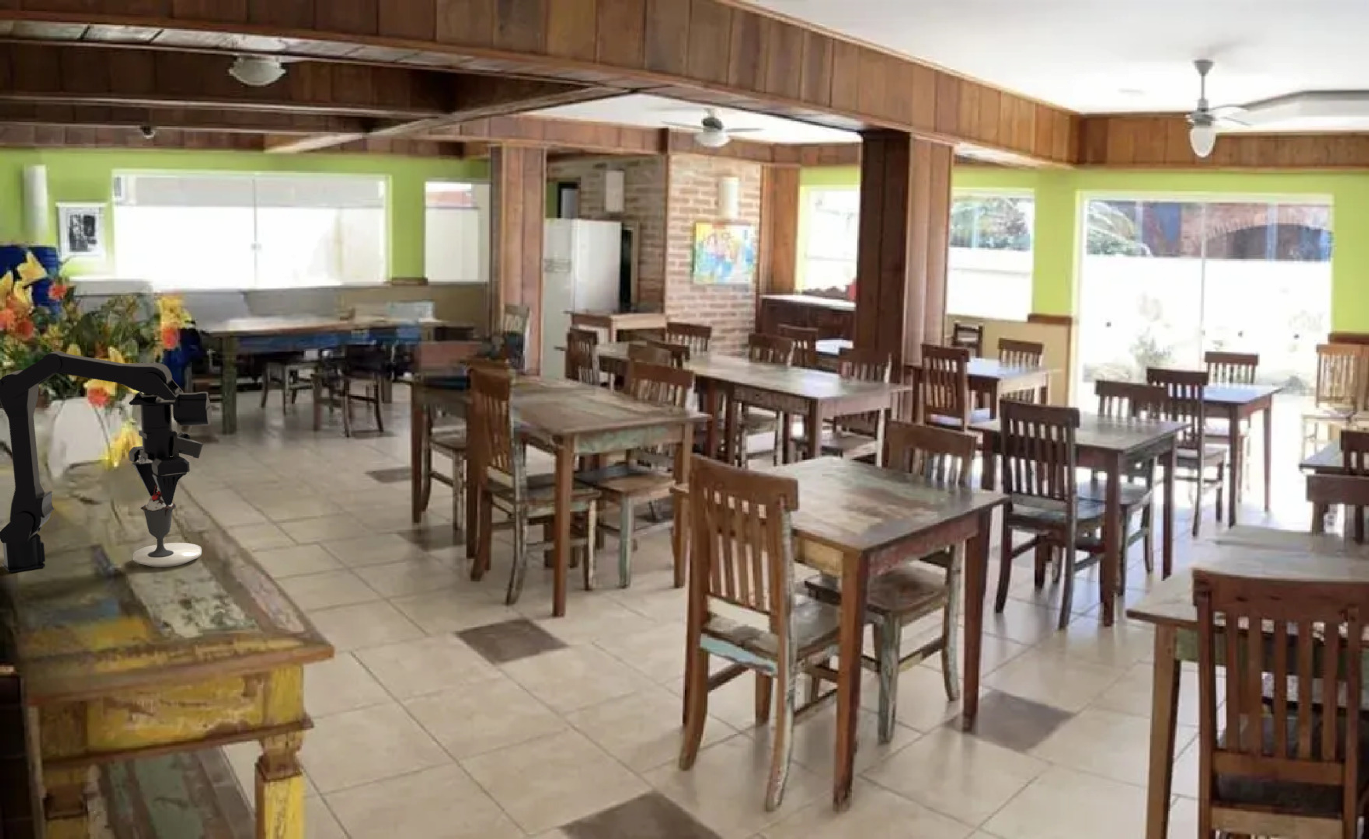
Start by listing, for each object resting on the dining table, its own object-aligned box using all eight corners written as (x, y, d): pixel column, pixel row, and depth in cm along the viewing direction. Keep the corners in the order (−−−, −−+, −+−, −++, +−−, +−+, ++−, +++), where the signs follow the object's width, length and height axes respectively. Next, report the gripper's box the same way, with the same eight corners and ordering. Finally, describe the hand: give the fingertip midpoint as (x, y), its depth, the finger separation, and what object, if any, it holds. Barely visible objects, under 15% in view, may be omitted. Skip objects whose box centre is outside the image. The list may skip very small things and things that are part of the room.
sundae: (153, 560, 241) (149, 488, 238) (137, 554, 245) (132, 482, 243) (184, 554, 246) (180, 483, 243) (168, 547, 250) (164, 477, 248)
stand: (145, 573, 239) (145, 564, 239) (125, 559, 249) (124, 549, 248) (211, 562, 247) (210, 553, 247) (188, 548, 257) (188, 539, 257)
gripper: (213, 428, 241) (217, 504, 244) (181, 415, 255) (184, 487, 258) (156, 434, 234) (160, 512, 236) (126, 420, 248) (130, 494, 250)
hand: (160, 500), depth 245 cm, fingers open, 9 cm apart
